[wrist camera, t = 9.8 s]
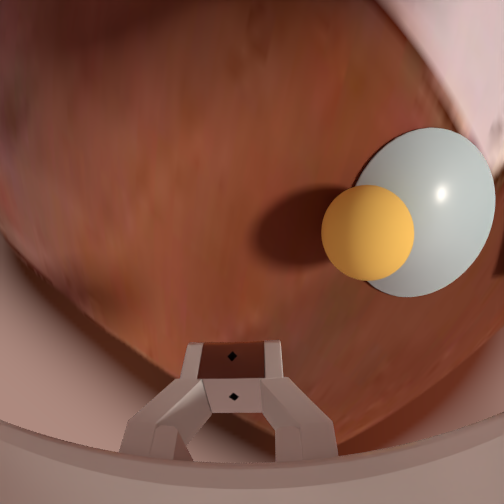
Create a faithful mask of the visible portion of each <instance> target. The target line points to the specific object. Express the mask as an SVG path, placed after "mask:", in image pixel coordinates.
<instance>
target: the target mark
mask: <svg viewBox="0 0 504 504" xmlns="http://www.w3.org/2000/svg"><path fill="white" fill-rule="evenodd" d="M360 185H376V186H379V187H383V188H385V189H387V190H389V191H391V192H393V193H394V194H395V195H397V196H398V197H399V198H400V199H401V200H402V201H403V202H404V204H405V205H406V207H407V208H408V210H409V212H410V214H411V217H412V220H413V224H414V242H413V247H412V250H411V252H410V255H409V257H408V258H407V260H406V261H405V263H404V264H403V265H402V266H401V267H400V268H399V269H398V270H397V271H396V272H394V273H393V274H391V275H390V276H387V277H385V278H382V279H379V280H373V281H368V282H369V283H370V284H371V285H372V286H374V287H375V288H377V289H379V290H380V291H382V292H385V293H387V294H390V295H394V296H400V297H416V296H421V295H426V294H429V293H432V292H435V291H437V290H439V289H441V288H443V287H445V286H447V285H448V284H450V283H451V282H453V281H454V280H455V279H457V278H458V277H459V276H460V275H461V274H463V273H464V272H465V271H466V270H467V269H468V267H469V266H470V265H471V264H472V263H473V262H474V260H475V259H476V258H477V256H478V255H479V253H480V251H481V250H482V248H483V246H484V244H485V242H486V240H487V238H488V235H489V232H490V229H491V226H492V222H493V218H494V211H495V188H494V182H493V178H492V174H491V171H490V169H489V166H488V164H487V162H486V160H485V158H484V157H483V155H482V154H481V152H480V151H479V150H478V149H477V148H476V146H475V145H474V144H473V143H471V142H470V141H469V140H468V139H466V138H465V137H463V136H461V135H460V134H458V133H455V132H453V131H450V130H446V129H441V128H422V129H417V130H413V131H410V132H407V133H405V134H403V135H401V136H399V137H397V138H395V139H394V140H392V141H391V142H389V143H388V144H386V145H385V146H384V147H383V148H382V149H381V150H380V151H378V152H377V153H376V155H375V156H374V157H373V158H372V159H371V160H370V162H369V163H368V164H367V166H366V167H365V169H364V170H363V172H362V173H361V175H360V177H359V179H358V181H357V183H356V185H355V186H360Z"/></svg>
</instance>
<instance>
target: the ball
mask: <svg viewBox="0 0 504 504" xmlns="http://www.w3.org/2000/svg"><path fill="white" fill-rule="evenodd" d="M321 236H322V243H323V247H324V250H325V252H326V254H327V256H328V258H329V259H330V261H331V262H332V263H333V265H334V266H335V267H336V268H337V269H338V270H339V271H341V272H342V273H344V274H345V275H347V276H349V277H352V278H354V279H358V280H364V281H373V280H379V279H382V278H385V277H387V276H390V275H391V274H393V273H394V272H396V271H397V270H398V269H399V268H400V267H401V266H402V265H403V264H404V263H405V261H406V260H407V258H408V257H409V255H410V252H411V250H412V247H413V242H414V224H413V220H412V217H411V214H410V212H409V210H408V208H407V207H406V205H405V204H404V202H403V201H402V200H401V199H400V198H399V197H398V196H397V195H395V194H394V193H393V192H391V191H389V190H387V189H385V188H383V187H379V186H376V185H360V186H355V187H352V188H349V189H347V190H345V191H344V192H342V193H341V194H339V195H338V196H337V197H336V198H335V199H334V200H333V201H332V202H331V204H330V205H329V207H328V208H327V210H326V212H325V215H324V218H323V222H322V229H321Z"/></svg>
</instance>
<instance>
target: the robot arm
mask: <svg viewBox="0 0 504 504" xmlns="http://www.w3.org/2000/svg"><path fill="white" fill-rule="evenodd" d="M234 412H246V413H254V412H263V415H264V416H265V417H266V419H267V420H268V422H269V423H270V424H271V426H272V427H273V428H274V430H275V440H276V462H268V463H214V462H194V461H193V459H192V457H191V455H190V453H189V451H188V449H187V447H186V445H187V444H188V443H189V442H190V441H191V439H192V438H193V437H194V436H195V434H196V433H197V432H198V431H199V429H200V428H201V427H202V426H203V424H204V423H205V422H206V421H207V419H208V418H209V417H210V416H211V413H234ZM0 504H504V412H502V413H500V414H497V415H495V416H492V417H490V418H487V419H484V420H482V421H479V422H476V423H474V424H471V425H468V426H466V427H462V428H459V429H457V430H453V431H450V432H447V433H443V434H441V435H437V436H433V437H430V438H426V439H423V440H419V441H415V442H411V443H407V444H403V445H398V446H394V447H389V448H384V449H379V450H375V451H369V452H364V453H357V454H352V455H345V456H338V451H337V445H336V439H335V433H334V427H333V422H332V421H331V420H330V419H329V418H328V417H327V416H326V415H325V414H324V413H323V412H322V411H321V410H320V409H319V408H318V407H317V406H316V405H315V404H314V403H313V402H312V401H311V400H310V399H309V398H308V397H307V396H306V395H305V394H304V393H303V392H302V391H301V390H300V389H299V388H298V387H297V386H296V385H295V384H294V383H293V382H292V381H291V380H290V379H289V378H288V377H283V367H282V354H281V342H280V340H269V341H253V342H228V343H224V342H204V343H195V342H189V344H188V346H187V349H186V354H185V358H184V362H183V367H182V371H181V376H180V379H175V380H174V381H173V382H171V383H170V384H169V385H168V386H167V387H166V388H165V389H164V390H162V391H161V393H159V394H158V395H157V396H156V397H155V398H153V400H151V401H150V402H149V403H148V404H147V405H146V406H144V407H143V408H142V409H141V410H140V411H139V412H137V413H136V414H135V415H134V416H133V417H132V418H131V419H129V420H128V423H127V426H126V430H125V433H124V437H123V440H122V443H121V447H120V451H119V452H113V451H108V450H103V449H98V448H93V447H88V446H84V445H80V444H76V443H72V442H68V441H64V440H60V439H57V438H53V437H49V436H46V435H43V434H40V433H36V432H33V431H30V430H27V429H24V428H21V427H19V426H16V425H13V424H10V423H8V422H5V421H2V420H0Z"/></svg>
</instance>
